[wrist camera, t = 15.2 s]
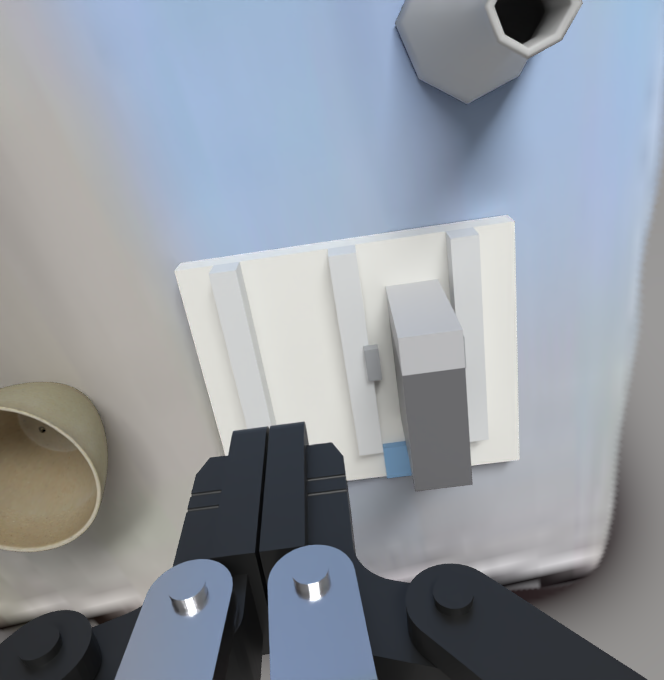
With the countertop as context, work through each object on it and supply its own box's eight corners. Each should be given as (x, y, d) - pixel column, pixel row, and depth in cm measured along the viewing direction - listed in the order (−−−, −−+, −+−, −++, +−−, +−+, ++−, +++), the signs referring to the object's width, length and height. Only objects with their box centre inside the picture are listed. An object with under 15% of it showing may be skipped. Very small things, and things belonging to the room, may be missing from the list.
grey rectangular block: (400, 418, 38) (415, 491, 31) (385, 286, 34) (398, 338, 28) (448, 412, 37) (472, 484, 31) (438, 278, 34) (462, 329, 27)
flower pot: (129, 487, 42) (93, 566, 35) (-17, 460, 41) (-83, 536, 34) (144, 365, 38) (106, 428, 31) (-18, 331, 37) (-93, 390, 30)
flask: (464, 129, 32) (518, 158, 23) (368, 24, 30) (385, 9, 21) (574, 18, 30) (682, 0, 20) (479, -105, 27) (553, -186, 18)
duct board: (239, 480, 42) (231, 516, 38) (180, 262, 35) (164, 283, 32) (513, 446, 40) (529, 480, 37) (507, 214, 34) (526, 231, 30)
